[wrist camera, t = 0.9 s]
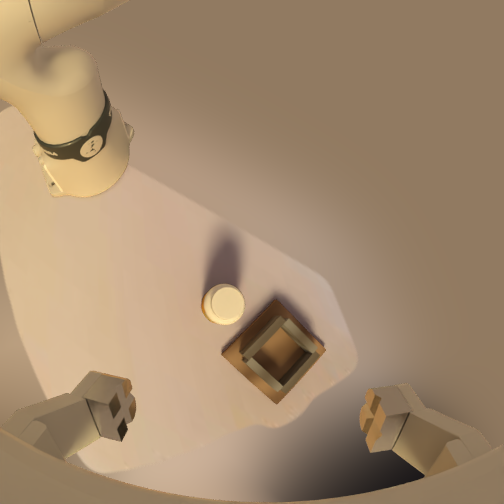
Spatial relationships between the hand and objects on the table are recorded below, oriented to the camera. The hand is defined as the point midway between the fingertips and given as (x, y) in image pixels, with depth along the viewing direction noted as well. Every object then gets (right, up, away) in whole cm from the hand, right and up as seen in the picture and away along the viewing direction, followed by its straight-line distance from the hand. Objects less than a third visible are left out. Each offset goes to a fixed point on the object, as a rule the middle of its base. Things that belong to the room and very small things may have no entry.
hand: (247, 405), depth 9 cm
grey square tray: (+4, -11, +35) cm, 37 cm away
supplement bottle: (-5, -3, +35) cm, 36 cm away
